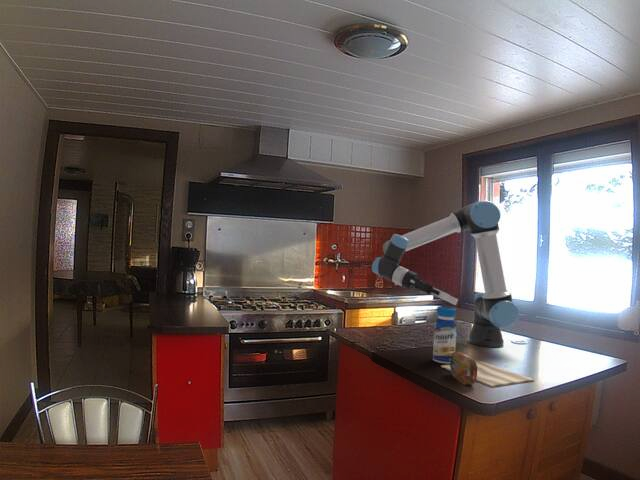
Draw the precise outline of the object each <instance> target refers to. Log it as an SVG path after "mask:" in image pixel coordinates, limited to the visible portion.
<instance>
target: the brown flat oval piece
mask: <svg viewBox="0 0 640 480" xmlns="http://www.w3.org/2000/svg"><path fill="white" fill-rule="evenodd" d="M476 362H477V361H476V360H475V359H474V357H473V358H472V357H471V356H469V355H467V354H465V353H464V352H460V351H455V352H454V353H453V355H452V357H451V363H450V364H449V365H450V367H451V371H450V372H451V375H452V377H453V378H455V379H456V380H457V381H459V383H461V384H463V385H465V386H466V385H467V386H472V385H474V384H475V383H476V382H477V381H476V377H477V364H476Z"/></svg>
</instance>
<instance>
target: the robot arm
mask: <svg viewBox="0 0 640 480" xmlns="http://www.w3.org/2000/svg"><path fill="white" fill-rule="evenodd" d="M500 220H501V211H500V208H499V207H498V205H497V203H494V202H492V201H490V200H478V201H475V202H472V203H469V204H468V205H466V206H464V207H461V208H460V209H459V210H457V211H454V212H451V213H450V214H449V216H447V217H445V218H442V219H440V220H438V221H435V222H431V223H429V224H427V225H425V226H422V227H420V228H417V229H414V230H413V231H409V232H407V233H404V234H402V235H400V234H397V233H393V234H392V236H391V238H390V239H388V240H386V241H385V242H384V243H383V245H382V251H383V255H382V256H378V257H376V258H375V260H373V262H372V263H371V264H372V265H371V271H372V273H374V274H376V275H377V276H380V277H381V278H384V279H385V280H387V281H389V282H392V283H394V286H397V285H398V286H401V287H402V288H403V289H406V290H408V291H411V290H413V289H414V288H415V289H417V290H418V291H422V292H424V293H426V294H427V295H432V296H434V297H437V298H439V299H441V300H443V301H446V302H448V303H450V304H451V305H454V306H456V305H457V304H458V301H459V298H457V297H454V296H452V295H450V294H449V293H447V292H446V291H445V290H440V289H438V288H436V287H434V286H431V285H430V284H428V283H426V281H424V280H422V279H419V275H418V273H417V272H415V271H411V270H409V269H407V268H406V267H403V266H401V265H399V264H400V262H401V261H402V260H401V259H402V258H403V255H404V253H407V251H411V250H412V249H413V250H414V249H416V248H418V247H420V246H424V245H425V244H429V243H431V242H433V241H436V240H439V239H441V238H444V237H447V236H449V235H451V234H454V233H458V234H459V233H462V232H465V231H469V233H470V236H472V237H473V238H474V240H475V244H476V245H475V246H476V251H477V257H478V261H479V267H480V271H481V278H482V283H483V289H484V292H479V293H478V292H477V293H475V295H474V299H473V303H474V304H473V317H472V318H473V319H472V321H473V322H472V327H471V330H470V332H469V335H468V338H467V339H468V340H467V342H468V343H470V344H472V345H475V346H481V347H486V348H487V347H488V348H501V347H502V348H503V347H504V339H503V334H502V330H501V328H502V329H506V328H509V327H512V326H514V325H515V323H516V322H517V321H518V320H519V319H518V318H519V315H520V312H519V308H518V307H517V305H516V303H514V302H513V298H512V297H513V296H512V292H510V291H509V290H507V285H506V281H505V275H504V271H503V265H502V260H501V254H500V247H499V244H498V243H499V242H498V238H497V234H498V232H499V231H500V228H499V222H500Z"/></svg>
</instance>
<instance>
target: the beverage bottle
mask: <svg viewBox="0 0 640 480" xmlns="http://www.w3.org/2000/svg"><path fill="white" fill-rule="evenodd" d="M436 315H437V318H436V319H435V322H434V329H433V346H432V347H433V348H432V349H433V350H432V360H433V362H436V363H440V364H444V365H450V363H451V357H452V355H453V353H454V352H456V347H457V337H458V333H457V328H458V325H457V322H456V320H455V318H456V315H457V310H456V308H454V307H450V306H437V308H436Z"/></svg>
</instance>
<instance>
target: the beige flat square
mask: <svg viewBox="0 0 640 480" xmlns="http://www.w3.org/2000/svg"><path fill="white" fill-rule="evenodd" d="M475 362H476V364H477V377H476V382H477V383H481V384H483V385H485V386H487V387H490V388H497V387H503V386H509V385H517V384H524V383H525V384H526V383H529V382H530V383H532V382H535V379H534V378H531V377H528V376H526V375H522V374H519V373H517V372H515V371H514V372H513V371H510V370H508V369H505V368H503V367H499V366H496V365H493V364H490V363H487V362H485V361H479V360H478V361H475ZM440 367H441V368H442V369H444V368H445V370H448V371H450V372H451V367H450V364H444V365H443V364H442V365H440Z"/></svg>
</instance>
